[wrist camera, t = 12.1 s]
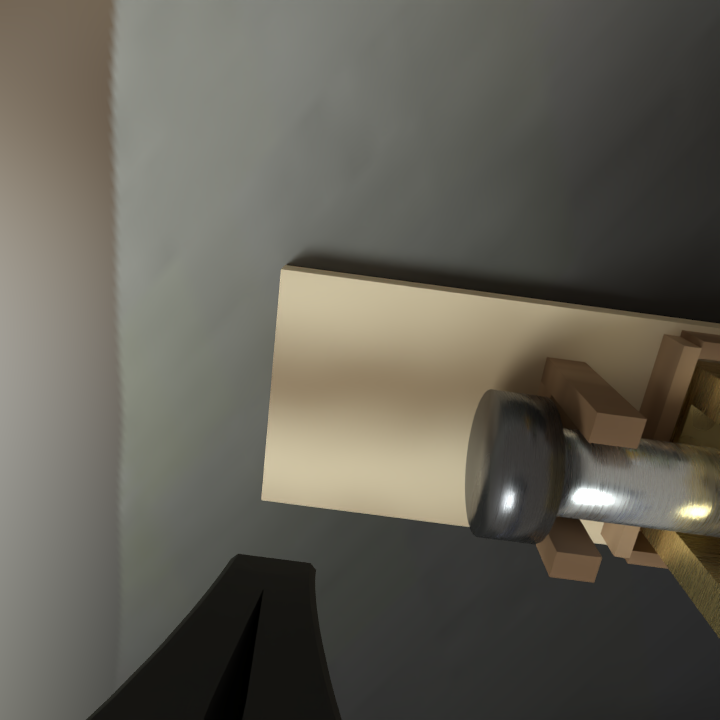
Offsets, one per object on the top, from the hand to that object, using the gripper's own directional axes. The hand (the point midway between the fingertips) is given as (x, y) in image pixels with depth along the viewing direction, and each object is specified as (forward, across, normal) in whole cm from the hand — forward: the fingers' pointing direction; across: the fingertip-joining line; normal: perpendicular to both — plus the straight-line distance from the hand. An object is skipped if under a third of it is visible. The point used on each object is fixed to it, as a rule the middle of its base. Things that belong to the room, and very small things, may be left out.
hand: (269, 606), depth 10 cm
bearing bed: (+10, -7, 0) cm, 12 cm away
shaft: (+8, -11, 0) cm, 13 cm away
